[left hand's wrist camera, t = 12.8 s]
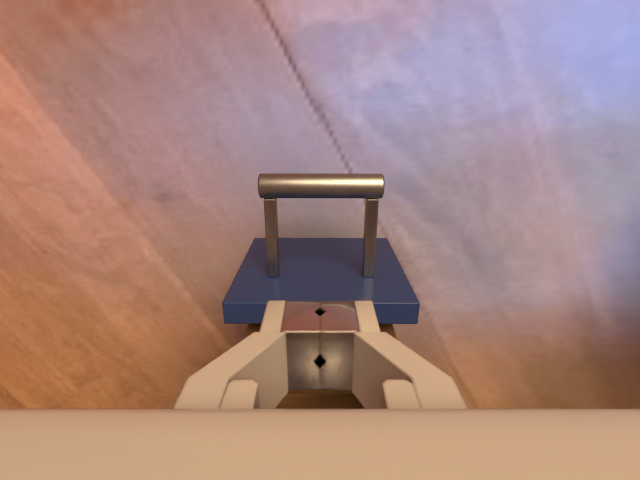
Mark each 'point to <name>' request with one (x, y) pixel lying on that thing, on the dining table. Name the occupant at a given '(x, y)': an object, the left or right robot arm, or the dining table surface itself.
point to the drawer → (321, 269)
